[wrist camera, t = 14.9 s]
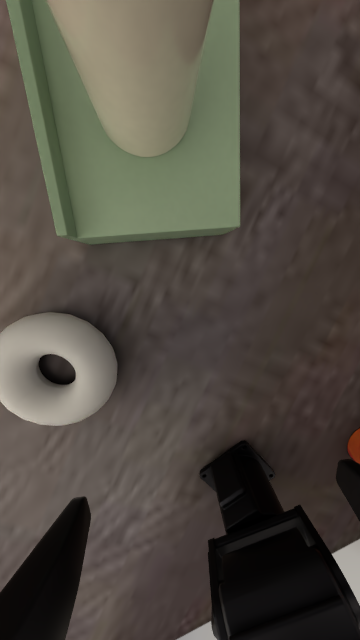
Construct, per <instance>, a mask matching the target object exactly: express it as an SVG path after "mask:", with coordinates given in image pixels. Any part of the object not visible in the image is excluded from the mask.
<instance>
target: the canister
mask: <svg viewBox="0 0 360 640" xmlns="http://www.w3.org/2000/svg"><path fill="white" fill-rule="evenodd" d="M214 1H215V0H45V2H46V5H47V7H48V9H49V11H50V14H51V16H52V18H53V20H54V23H55V25H56V27H57V29H58V32H59V34H60V36H61V38H62V41H63V43H64V45H65V47H66V49H67V52H68V54H69V56H70V58H71V61H72V63H73V65H74V67H75V70H76V72H77V74H78V76H79V79H80V81H81V83H82V85H83V88H84V90H85V92H86V94H87V97H88V99H89V101H90V103H91V105H92V108H93V110H94V112H95V114H96V117H97V119H98V121H99V123H100V125H101V127H102V129H103V130H104V132H105V133H106V135H107V136H108V137H109V138H110V139H111V141H112V142H114V143H115V144H116V145H117V146H118V147H119V148H121V149H122V150H124V151H126V152H128V153H130V154H133V155H135V156H140V157H154V156H158V155H161V154H164V153H166V152H168V151H169V150H171V149H172V148H173V147H175V146H176V145H177V144H178V142H179V141H180V140H181V139H182V137H183V136H184V134H185V132H186V130H187V128H188V126H189V123H190V120H191V116H192V111H193V106H194V101H195V96H196V91H197V86H198V81H199V76H200V71H201V66H202V61H203V56H204V51H205V46H206V41H207V36H208V31H209V26H210V21H211V16H212V11H213V6H214Z"/></svg>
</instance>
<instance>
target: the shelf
mask: <svg viewBox="0 0 360 640" xmlns="http://www.w3.org/2000/svg"><path fill="white" fill-rule="evenodd" d="M6 2H7V7H8V11H9V16H10V21H11V25H12V30H13V35H14V39H15V44H16V48H17V53H18V58H19V62H20V67H21V72H22V76H23V81H24V85H25V90H26V95H27V99H28V104H29V109H30V113H31V118H32V122H33V127H34V132H35V136H36V141H37V146H38V150H39V155H40V159H41V164H42V169H43V173H44V178H45V183H46V187H47V192H48V197H49V201H50V206H51V210H52V215H53V220H54V224H55V229H56V234H57V236H59V237H63V238H67V239H71V240H74V241H78V242H82V243H86V244H89V245H92V244H105V243H119V242H132V241H145V240H159V239H172V238H186V237H199V236H213V235H223V234H225V233H228V232H230V231H232V230H234V229H236V228H238V227H240V24H239V0H215V1H214V6H213V11H212V16H211V21H210V26H209V31H208V36H207V41H206V46H205V51H204V56H203V61H202V66H201V71H200V76H199V81H198V86H197V91H196V96H195V101H194V106H193V111H192V116H191V120H190V123H189V126H188V128H187V130H186V132H185V134H184V136H183V137H182V139H181V140H180V141H179V142H178V144H177V145H176V146H175V147H173V148H172V149H171V150H169V151H168V152H166V153H164V154H161V155H158V156H154V157H140V156H135V155H133V154H130V153H128V152H126V151H124V150H122V149H121V148H119V147H118V146H117V145H116V144H115V143H114V142H112V141H111V139H110V138H109V137H108V136H107V135H106V133H105V132H104V130H103V129H102V127H101V125H100V123H99V121H98V119H97V117H96V114H95V112H94V110H93V108H92V105H91V103H90V101H89V99H88V97H87V94H86V92H85V90H84V88H83V85H82V83H81V81H80V79H79V76H78V74H77V72H76V70H75V67H74V65H73V63H72V61H71V58H70V56H69V54H68V52H67V49H66V47H65V45H64V43H63V41H62V38H61V36H60V34H59V32H58V29H57V27H56V25H55V23H54V20H53V18H52V16H51V14H50V11H49V9H48V7H47V5H46V2H45V0H6Z"/></svg>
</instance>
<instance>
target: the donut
mask: <svg viewBox="0 0 360 640" xmlns="http://www.w3.org/2000/svg"><path fill="white" fill-rule="evenodd" d="M46 354H56V355H58V356H61V357H63V358H65V359H66V360H67V361H69V362H70V363H71V365H72V366H73V367H74V369H75V372H76V379H75V381H74V382H72V383H71V384H68V385H59V384H56V383H53V382H51V381H49V380H48V379H46V378H45V377H44V376H43V374H42V373H41V371H40V369H39V365H38V362H39V359H40V357H41V356H43V355H46ZM117 366H118V364H117V360H116V357H115V353H114V350H113V348H112V346H111V345H110V343H109V342H108V340H107V339H106V337H105V336H104V335H103V333H101V332H100V331H99V330H98V329H96V328H95V327H94V326H93V325H91V324H90V323H89V322H87V321H85V320H82V319H80V318H77V317H75V316H72V315H70V314H63V313H53V312H45V313H40V314H35V315H30V316H25V317H23V318H22V319H20V320H18V321H16V322H15V323H13V324H11V325H9V326H8V327H6V328H5V329H4V330H3V331H2V333H1V334H0V402H1V403H2V404H3V405H4V406H5V407H6V408H7V409H8V410H9V411H11V412H13V413H14V414H16V415H18V416H19V417H21V418H23V419H24V420H28V421H31V422H34V423H38V424H41V425H57V426H62V425H67V424H71V423H76V422H79V421H81V420H83V419H85V418H87V417H88V416H90V415H92V414H94V413H96V412H97V411H98V410H99V409H100V408H101V407H102V406H103V405H104V404H105V403H106V402H107V401H108V399H109V398H110V396H111V394H112V391H113V389H114V387H115V385H116V381H117Z"/></svg>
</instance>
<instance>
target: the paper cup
mask: <svg viewBox="0 0 360 640" xmlns="http://www.w3.org/2000/svg"><path fill="white" fill-rule="evenodd" d="M347 449H348V453H349V455H350V456H351V457H352V459H353V460H354V461H355V462H357V463H359V464H360V428H359V429H358V430H356V431H355V432H354V433H353V435H352V436H351V437H350V439H349V442H348V446H347Z"/></svg>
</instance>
